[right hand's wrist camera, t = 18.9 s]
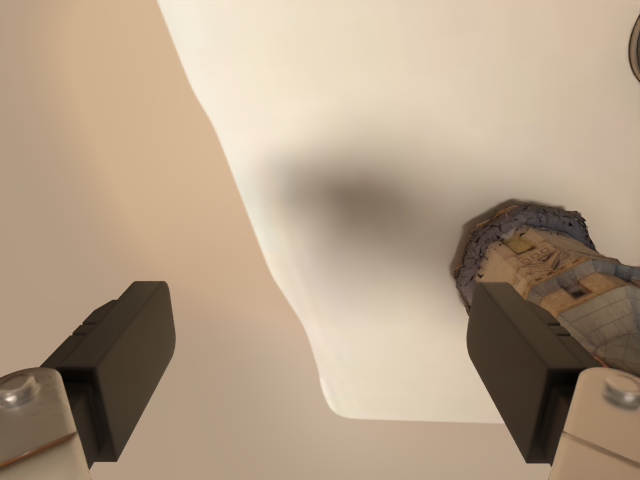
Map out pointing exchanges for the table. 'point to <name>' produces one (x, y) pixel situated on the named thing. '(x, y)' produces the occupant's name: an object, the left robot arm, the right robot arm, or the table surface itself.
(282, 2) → the table surface
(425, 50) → the table surface
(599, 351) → the miniature building
